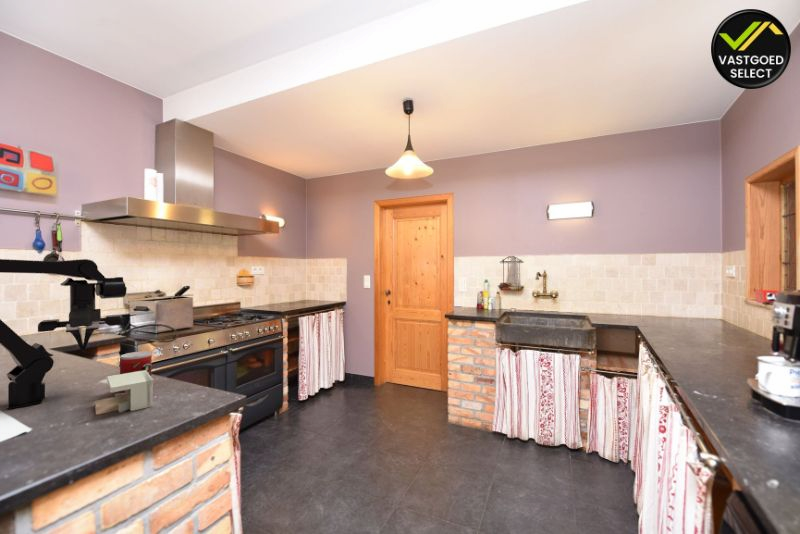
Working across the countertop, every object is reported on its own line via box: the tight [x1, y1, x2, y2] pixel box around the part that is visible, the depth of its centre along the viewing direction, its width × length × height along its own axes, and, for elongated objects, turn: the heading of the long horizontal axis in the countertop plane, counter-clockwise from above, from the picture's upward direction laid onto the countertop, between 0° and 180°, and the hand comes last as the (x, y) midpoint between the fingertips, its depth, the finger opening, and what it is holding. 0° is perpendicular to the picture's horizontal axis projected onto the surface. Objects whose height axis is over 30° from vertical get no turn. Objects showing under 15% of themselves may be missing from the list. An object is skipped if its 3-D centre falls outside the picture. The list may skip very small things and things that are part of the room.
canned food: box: [119, 350, 153, 393], centre depth 106 cm, size 8×8×11 cm
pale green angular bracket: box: [106, 370, 154, 413], centre depth 95 cm, size 9×13×7 cm
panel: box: [94, 394, 130, 415], centre depth 94 cm, size 10×6×2 cm, turn 134°
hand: (83, 350), depth 106 cm, fingers closed
